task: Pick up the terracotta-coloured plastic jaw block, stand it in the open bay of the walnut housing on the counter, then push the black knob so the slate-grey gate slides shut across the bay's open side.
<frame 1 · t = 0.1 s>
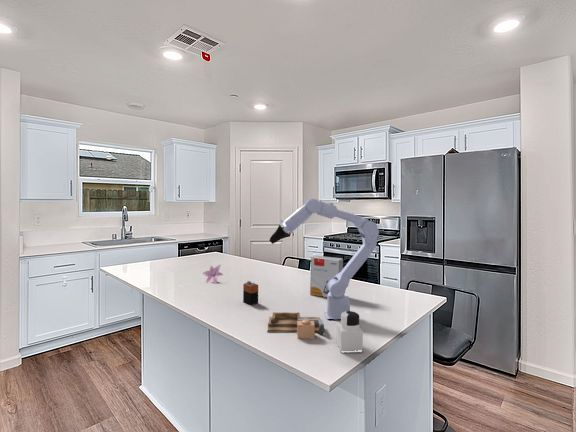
hand: (271, 240, 137), 32 cm above the countertop, tool tilted 50°, fingers open, 7 cm apart
battery: (250, 303, 156), on the countertop
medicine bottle: (349, 349, 108), on the countertop
jaw: (305, 336, 118), on the countertop
housing: (291, 325, 128), on the countertop
hard drive box: (326, 295, 170), on the countertop
lily: (213, 281, 197), on the countertop
gate: (310, 325, 123), point 2 cm above the countertop, slide at 0.0 cm
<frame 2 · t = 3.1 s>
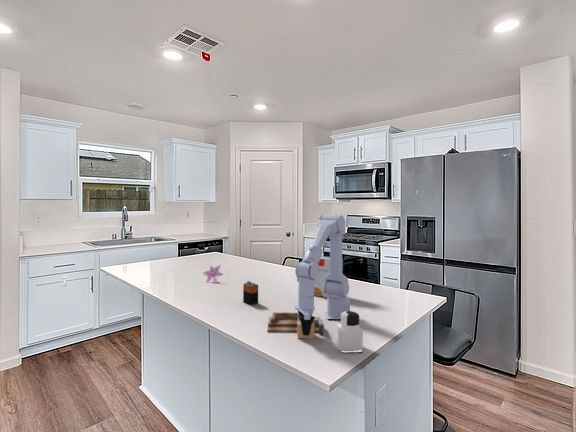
hand: (305, 332, 118), 1 cm above the countertop, tool pointing down, fingers closed on jaw, 4 cm apart
jaw: (305, 336, 118), on the countertop, touching gripper
everything else where it was.
when the fingers open (4 cm above the countertop, at t = 6.7 s): jaw stays where it is, resting on housing.
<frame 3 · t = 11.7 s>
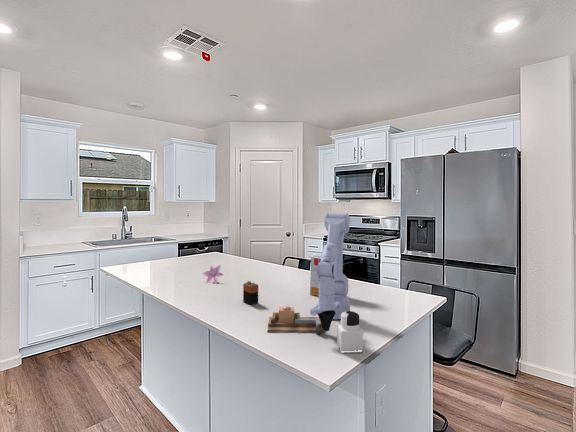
hand: (325, 330, 120), 1 cm above the countertop, tool pointing down, fingers closed
jaw: (286, 321, 130), point 1 cm above the countertop, touching housing
gate: (307, 325, 123), point 2 cm above the countertop, slide at 1.1 cm, touching gripper
everything else where it was.
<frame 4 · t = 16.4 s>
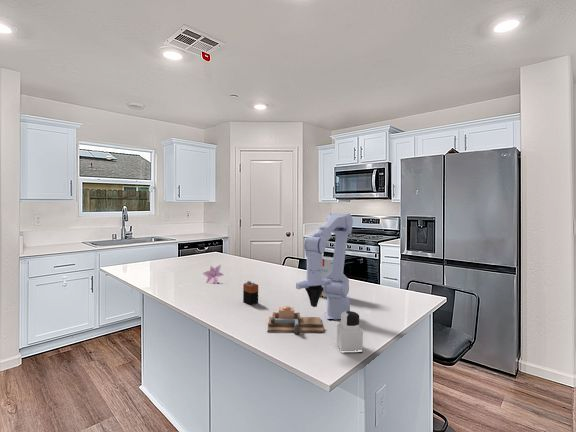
hand: (313, 306, 119), 10 cm above the countertop, tool pointing down, fingers closed
gate: (286, 325, 123), point 2 cm above the countertop, slide at 9.0 cm
at the end: jaw 0.0 cm from the target spot on the housing, point 0.8 cm above the housing's base; jaw tilted 0°; gate slide at 9.0 cm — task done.
